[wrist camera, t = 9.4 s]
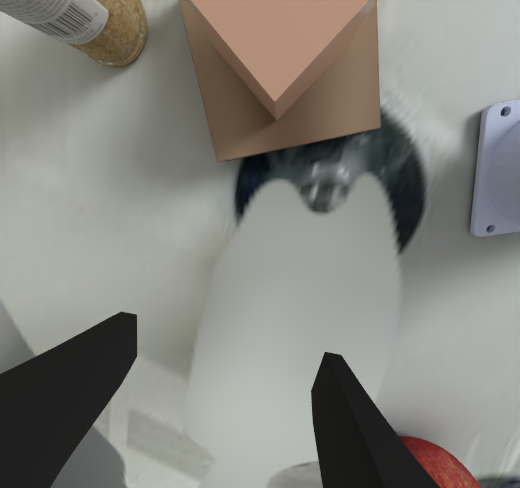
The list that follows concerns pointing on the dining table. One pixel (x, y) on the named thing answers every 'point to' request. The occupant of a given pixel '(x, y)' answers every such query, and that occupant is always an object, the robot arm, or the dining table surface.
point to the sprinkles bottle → (87, 25)
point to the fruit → (440, 464)
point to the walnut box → (304, 108)
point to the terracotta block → (280, 41)
